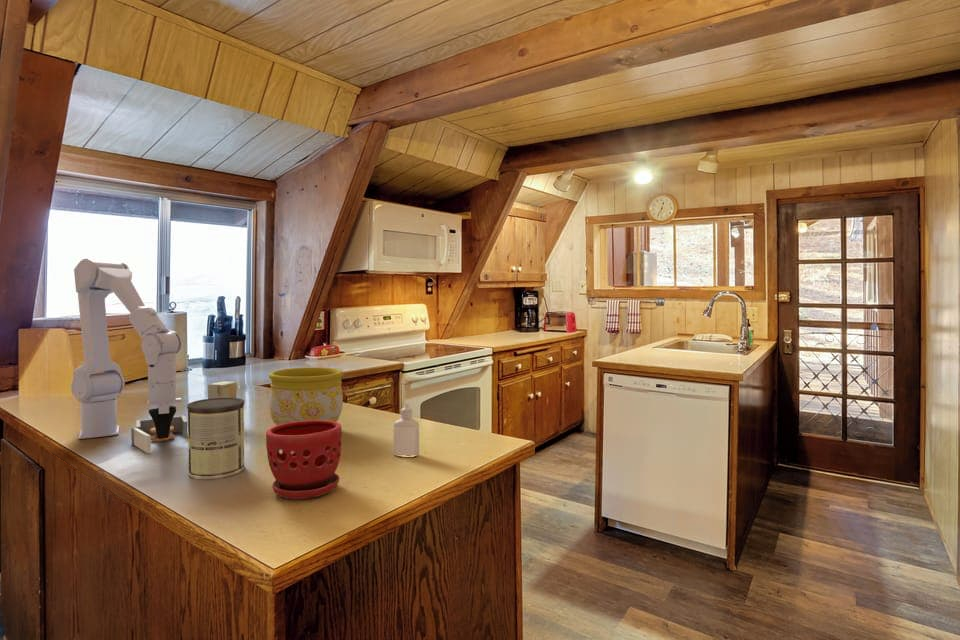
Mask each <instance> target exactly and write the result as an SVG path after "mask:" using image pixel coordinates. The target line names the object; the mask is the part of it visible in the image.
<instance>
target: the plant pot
mask: <svg viewBox="0 0 960 640" xmlns="http://www.w3.org/2000/svg"><path fill="white" fill-rule="evenodd" d="M342 437H343V435H342V424H341V423H339V422H338V421H337V422H334V421H327V420H307V421H297V422H290V423H285V424H281V425H277V426H276V425H274V426H272V427H271V428H268V429H267V431H266V432H265V443H266V444H265V445H266V452H267V453H266V454H267V461H268V465H269V469H270V471H271V473H272V476H273V477H274V479H275V480H274V482H273V483H272V490H273V492H274V493H275V494H277V496H280V497H282V498H284V499H291V500H305V499H313V498H316V497H317V498H318V497H321V496H323V495H324V496H325V495H326V494H330V492H331V491H333V490H334V489H335V488H336V487H337V485H338V484H339V482H340V476H339V474H337V473H336V472H337V469H338V466H339V463H340V459H341V455H342V442H343V441H342ZM280 450H282V452H281V453H280ZM292 452H293V453H292Z"/></svg>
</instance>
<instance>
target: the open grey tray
mask: <svg viewBox="0 0 960 640" xmlns="http://www.w3.org/2000/svg"><path fill="white" fill-rule="evenodd" d="M171 426H173V427H174V430H172V431H170V434H174V433H181V435H182V437H183V439H185V438H188V419H187V418H186V416H185V415H176V416H175V415H174V416H173V419H172V422H171ZM135 427H137V428H138V429H139V430H141V431H143V432H145V433H147V434H149V435H150V436H155V433H151V432H150V429H152V428H155V424H154V421H153V419H152V418H145V419H137V420H135ZM173 432H174V433H173Z"/></svg>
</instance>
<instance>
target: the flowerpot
mask: <svg viewBox="0 0 960 640" xmlns="http://www.w3.org/2000/svg"><path fill="white" fill-rule="evenodd" d="M343 375H344V371H343V370H342V369H340V368H332V367H325V366H324V367H323V366H322V367H320V366H319V367H318V366H317V367H316V366H313V367H311V366H310V367H308V366H307V367H291V368H283V369H277V370H273V371H270V373H269V374H268V378H269V379H270V382H271V383H270V384H269V385H270V392H269V402H268V404H269V413H270V417H271V419H272V421H273V423H274V426H277V425H281V424H285V423H290V422H297V421H307V420H327V421H334V422H338V420H339V418H340V416H341V413H342V410H343V404H344V403H343V401H344V399H343V397H344V396H343V389H342V383H343V381H342V378H341V377H343Z"/></svg>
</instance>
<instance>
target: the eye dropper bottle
mask: <svg viewBox="0 0 960 640" xmlns="http://www.w3.org/2000/svg"><path fill="white" fill-rule="evenodd" d="M394 454H396V455H406V456H411V455H417V454H420V423H419V422H418V420H416V419H414V418H413V409H412V408H411V407H410V406H409V402H404V406H403V408H401V409H400V418H399V419H397V420H396V421H394V424H393V455H394Z"/></svg>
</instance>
